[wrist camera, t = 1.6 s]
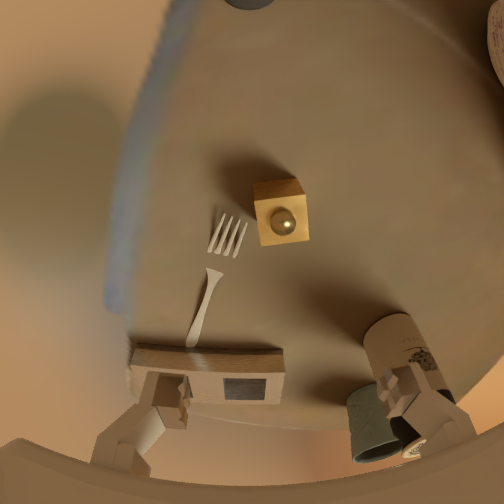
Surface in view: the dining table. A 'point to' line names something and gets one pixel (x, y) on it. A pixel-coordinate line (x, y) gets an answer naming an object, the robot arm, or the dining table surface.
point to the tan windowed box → (217, 372)
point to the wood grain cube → (281, 211)
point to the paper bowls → (496, 38)
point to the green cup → (370, 427)
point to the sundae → (249, 4)
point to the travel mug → (397, 353)
